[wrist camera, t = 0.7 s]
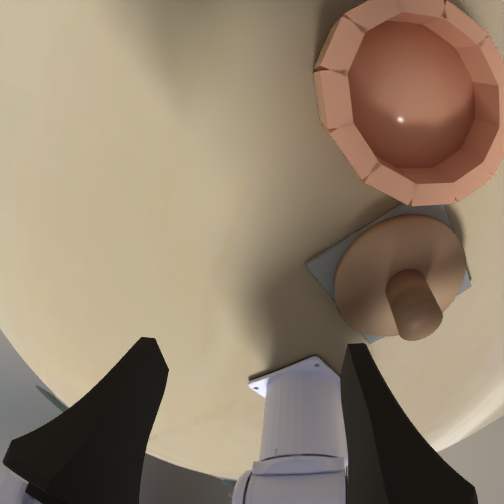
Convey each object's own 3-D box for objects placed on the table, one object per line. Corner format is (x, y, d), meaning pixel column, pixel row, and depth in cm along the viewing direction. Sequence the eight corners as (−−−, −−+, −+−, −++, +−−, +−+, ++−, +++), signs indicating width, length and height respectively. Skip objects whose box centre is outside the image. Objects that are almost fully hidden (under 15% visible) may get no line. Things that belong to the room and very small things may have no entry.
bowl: (504, 133, 13) (533, 146, 10) (382, 215, 17) (398, 241, 15) (420, -19, 9) (444, -33, 6) (273, 65, 13) (270, 61, 11)
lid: (471, 286, 19) (495, 326, 15) (369, 343, 23) (378, 388, 19) (435, 185, 15) (471, 218, 12) (305, 265, 20) (309, 315, 16)
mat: (469, 283, 19) (471, 286, 19) (368, 340, 23) (369, 343, 23) (432, 182, 16) (435, 185, 15) (305, 262, 20) (305, 266, 20)
